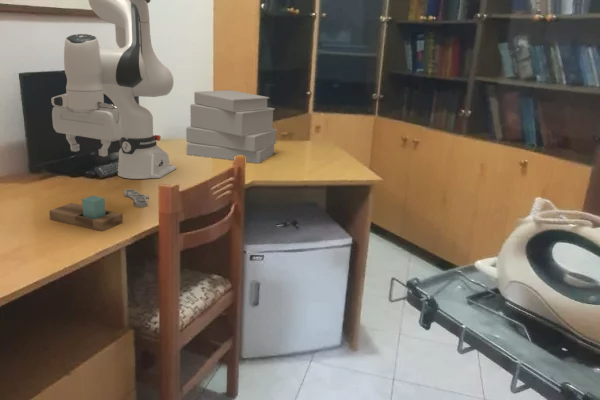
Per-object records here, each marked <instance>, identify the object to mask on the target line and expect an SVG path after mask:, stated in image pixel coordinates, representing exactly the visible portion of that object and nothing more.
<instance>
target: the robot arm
mask: <svg viewBox="0 0 600 400" xmlns="http://www.w3.org/2000/svg"><path fill="white" fill-rule="evenodd" d="M150 2H151V0H88V4H89V6H90V8H91V10H92V11H93V12H94V14H95V15H97V16H98V17H99V19H102V20H104V21H105V22H107V23H110V24H113V25H114V28H115V42H116V45H117V46H118V48H113V47H112V48H111V47H109V48H108V47H100V45H99V39H98V38H97V36H94V35H92V34H87V33H78V34H71V35H69V36H67V37H66V38H65V40H64V49H63V65H64V74H65V77H66V84H65V85H66V86H65V91H66V92H65V93H63V94H60V95H56V96H53V97H51V101H50V103H51V105H52V106H53V107H52V109H51V110H52V111H51V118H52V120H51V121H52V127H53V130H54V131H55V132H56V133H58V134H65V139H66V141H67V142H68V144H69V145H70V151H71V152H79V151H80V150H81V149H80V147H81V145H80V143H77V141H76V137H83V138H89V139H95V140H100V143H101V144H102V146H101V148H99V149H98V156H99V157H107V156H108V155H109V152H108V151H109V150H108V149H109V147H110V146H111V144H112V142H117V141H119V146H120V148H119V151H118V164H117V165H118V167H117V168H118V172H117V176H119V177H121V178H125V179H132V180H142V179H143V180H144V179H146V180H147V179H161V178H163V177H164V176H166V175H168V174H169V173H171V172H173V171H175V170H176V169H177V167H176V165H173V164H171V163H170V157H169V154H168V153H167V151H165V150H163V149H162V147H160V146H159V145H157V144H158V143H157V141H158V142H160V141H161V139H162V136H161V135H157V134H154V121H153V120H154V119H153V114H152V113H151V111H150V110H148V109H147V108H146V107H143V106H142V105H140V104H138V103H137V100H136V99H135V97H144V98H146V97H149V98H158V97H163V96H168V95H169V94H170V93H171V91H172V90H173V88H174V77H173V76H174V75H173V74H172V71H170V70H169V68H168V67H167V66H166V65H165V64H163V63H162V62H161V61H160V59H159V58H158V57H157V55H156V53H155V52H154V51H155V50H154V49H153V45H152V40H151V27H150V26H151V25H150V22H151V21H150V12H149V4H148V3H150ZM104 95H105V96H106V97H107V98H109V99H110V101H111V102H112V103H113V104H112V103H105V97H104Z"/></svg>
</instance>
